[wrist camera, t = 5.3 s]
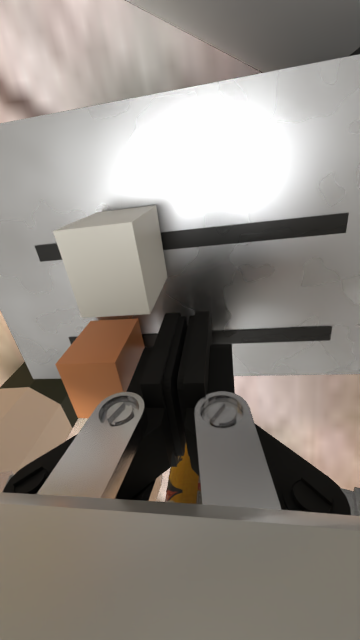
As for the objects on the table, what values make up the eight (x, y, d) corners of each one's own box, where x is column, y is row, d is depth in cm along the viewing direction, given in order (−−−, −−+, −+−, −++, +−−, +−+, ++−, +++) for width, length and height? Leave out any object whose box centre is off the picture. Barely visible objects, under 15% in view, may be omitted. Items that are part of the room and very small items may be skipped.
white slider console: (329, 108, 17) (505, 25, 6) (313, 270, 22) (399, 374, 11) (79, 149, 20) (-84, 139, 9) (113, 285, 24) (32, 379, 14)
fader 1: (156, 205, 9) (131, 222, 7) (167, 277, 10) (150, 314, 8) (96, 212, 9) (52, 230, 7) (114, 281, 10) (81, 317, 8)
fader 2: (138, 318, 11) (114, 362, 9) (149, 367, 12) (131, 418, 10) (90, 320, 11) (55, 364, 9) (105, 368, 13) (77, 417, 10)
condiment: (158, 444, 34) (130, 569, 24) (217, 419, 31) (215, 552, 20) (195, 478, 36) (184, 605, 26) (253, 457, 33) (268, 594, 23)
